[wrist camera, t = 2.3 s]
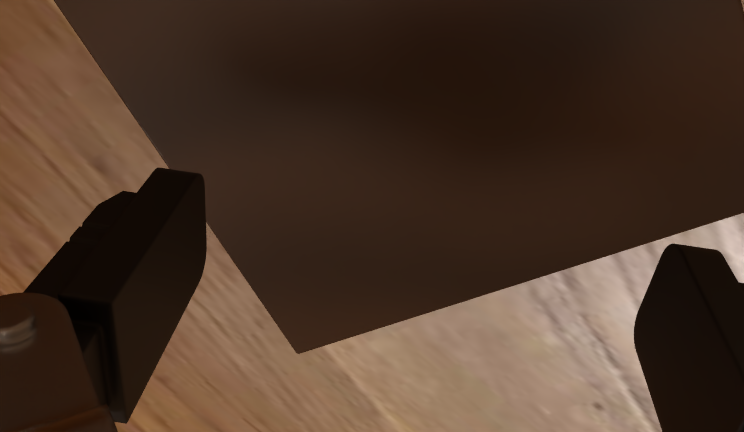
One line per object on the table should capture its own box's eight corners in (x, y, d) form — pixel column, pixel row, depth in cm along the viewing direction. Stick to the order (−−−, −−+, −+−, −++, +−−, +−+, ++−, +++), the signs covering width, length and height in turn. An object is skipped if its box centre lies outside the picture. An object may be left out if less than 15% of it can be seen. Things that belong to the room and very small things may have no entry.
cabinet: (143, -124, 24) (-12, -92, 16) (554, -380, 19) (620, -513, 11) (339, 212, 30) (296, 355, 22) (686, 79, 25) (789, 199, 17)
